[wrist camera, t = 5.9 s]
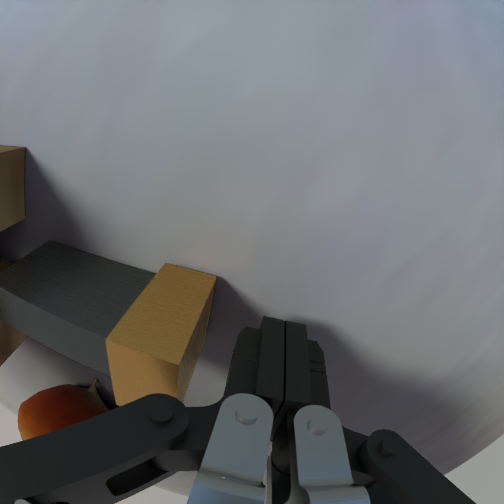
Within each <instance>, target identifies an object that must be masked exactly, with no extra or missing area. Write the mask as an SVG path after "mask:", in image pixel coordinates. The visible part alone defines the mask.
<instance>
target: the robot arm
mask: <svg viewBox="0 0 504 504" xmlns="http://www.w3.org/2000/svg"><path fill="white" fill-rule="evenodd" d="M324 364H325V360H324V353H323V351H322V349H321V347H320V346H319V344H318V343H317V341H313V340H308V339H307V332H306V325H304V324H299V323H295V322H290V321H284V320H280V319H276V318H271V317H267V316H264V317H263V319H262V322H261V325H260V328H259V329H255V328H251V327H247V326H246V327H245V328H244V329H243V330H242V331H241V332H240V333H239V334H238V337H237V341H236V345H235V349H234V353H233V357H232V360H231V364H230V369H229V373H228V378H227V382H226V387H225V391H224V396H223V397H222V399H221V400H219V401H218V402H217V403H215V404H212V405H210V406H205V407H185V405H184V404H183V403H182V402H181V401H180V400H178V399H177V398H175V397H173V396H171V395H168V394H162V393H154V394H149V395H146V396H144V397H142V398H139V399H137V400H135V401H132V402H130V403H127V404H125V405H123V406H120V407H118V408H115V409H113V410H110V411H108V412H105V413H103V414H100V415H97V416H95V417H92V418H90V419H87V420H84V421H81V422H79V423H76V424H73V425H70V426H67V427H65V428H62V429H59V430H56V431H53V432H50V433H47V434H43V435H40V436H37V437H34V438H31V439H27V440H24V441H21V442H17V443H13V444H10V445H6V446H2V447H0V504H114V503H117V502H119V501H121V500H123V499H126V498H128V497H130V496H132V495H134V494H136V493H138V492H140V491H142V490H144V489H146V488H148V487H150V486H152V485H154V484H156V483H158V482H160V481H162V480H164V479H166V478H167V477H169V476H171V475H173V474H175V473H176V472H178V471H198V470H199V471H198V473H197V476H196V479H195V482H194V484H193V487H192V490H191V493H190V496H189V499H188V501H187V504H264V499H265V485H264V484H263V476H264V470H265V465H266V459H267V454H268V448H269V442H270V441H271V442H273V443H272V452H271V453H270V455H269V456H268V459H267V504H476V503H475V502H474V501H472V500H471V499H470V498H469V497H468V496H467V495H465V494H464V493H463V492H462V491H461V490H459V489H458V488H457V487H456V486H455V485H454V484H453V483H452V482H450V481H449V480H448V479H447V478H446V477H445V476H444V475H442V474H441V473H440V472H439V471H438V470H437V469H436V468H435V467H433V466H432V465H431V464H430V463H429V462H428V461H427V460H426V459H425V458H423V457H422V456H421V455H420V454H419V453H418V452H417V451H416V450H415V449H414V448H412V447H411V446H410V445H409V444H408V443H407V442H406V441H405V440H404V439H403V438H402V437H401V436H399V435H398V434H397V433H395V432H393V431H390V430H385V429H382V430H377V431H375V432H373V433H372V434H371V435H370V436H366V435H363V434H360V433H357V432H354V431H351V430H349V429H347V428H345V427H343V426H342V425H341V421H340V419H339V418H338V416H337V415H336V414H335V413H334V412H333V411H331V408H330V400H329V391H328V383H327V375H326V368H325V365H324Z"/></svg>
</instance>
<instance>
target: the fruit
mask: <svg viewBox="0 0 504 504" xmlns="http://www.w3.org/2000/svg"><path fill="white" fill-rule="evenodd" d="M96 382H97V379H96V378H95V380H94V381H93V383H92V385H91V387H90V388H81V387H78V386H74V385H70V384H67V385H60V386H56V387H52V388H49V389H46V390H43V391H40V392H38V393H37V394H35V395H33V396H32V397H30V398H29V399H27V400H26V401H24V402H23V403H22V404H21V405H20V408H19V414H18V428H19V431H20V434H21V437H22V440H23V441H24V440H27V439H31V438H34V437H37V436H40V435H43V434H47V433H50V432H53V431H56V430H59V429H62V428H65V427H67V426H70V425H73V424H76V423H79V422H81V421H84V420H87V419H90V418H92V417H95V416H97V415H100V414H103V413H105V412H108V411H110V410H109V409H108V408H107V407H106V406H105V405H104V403H103V402H102V400H101V398H100V397H99V395H98V393H97V390H96V388H95V385H96Z"/></svg>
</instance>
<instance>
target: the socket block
mask: <svg viewBox="0 0 504 504" xmlns="http://www.w3.org/2000/svg"><path fill="white" fill-rule="evenodd" d="M24 166H25V147H17V146H3V145H0V232H1V231H2V230H4V229H6V228H8V227H10V226H12V225H14V224H16V223H18V222H20V221H22V220H24V219H25V202H24ZM11 265H13V264H12V263H10V262H8V261H6V260H5V261H3V262H1V263H0V273H1V272H2V271H4V270H5V269H7V268H8V267H10V266H11ZM27 337H28V336H27V335H25V334H23V333H22V332H20V331H18V330H17V329H15V328H14V327H12V326H10V325H9V324H7V323H6V322H4V321H2V320H1V319H0V366H1V365H2V364H3V363H4V362H5V361H6V360H7V358H8V357H9V356H10V355H11V354H12V353H13V352H14V351H15V350H16V349H17V348H18V347H19V345H20V344H21V343H22V342H23V341H24V340H25V339H26V338H27Z"/></svg>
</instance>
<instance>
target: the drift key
mask: <svg viewBox="0 0 504 504" xmlns="http://www.w3.org/2000/svg"><path fill="white" fill-rule="evenodd" d="M216 279H217V276H214V275H210V274H206V273H202V272H199V271H195V270H191V269H187V268H183V267H180V266H176V265H172V264H169V263H165V264H164V265H163V267H162V268H161V269H160V270H159V272H158V273H157V274H154V273H151V272H147V271H144V270H140V269H137V268H134V267H130V266H127V265H124V264H120V263H117V262H114V261H111V260H107V259H104V258H101V257H98V256H95V255H91V254H88V253H85V252H82V251H79V250H76V249H73V248H70V247H67V246H64V245H61V244H58V243H55V242H52V241H48V242H47V243H45V244H43V245H42V246H40V247H39V248H37V249H35V250H34V251H32V252H31V253H29V254H28V255H26V256H25V257H23V258H22V259H20V260H19V261H17V262H16V263H14V264H13V265H11V266H10V267H8V268H7V269H5V270H4V271H2V272H1V273H0V319H1V320H2V321H4V322H6V323H7V324H9V325H10V326H12V327H14V328H15V329H17V330H18V331H20V332H22V333H23V334H25V335H27V336H29V337H30V338H32V339H34V340H36V341H37V342H39V343H41V344H43V345H45V346H46V347H48V348H50V349H52V350H54V351H56V352H58V353H60V354H62V355H64V356H66V357H68V358H70V359H72V360H74V361H76V362H78V363H80V364H83V365H85V366H87V367H89V368H91V369H94V370H96V371H98V372H101V373H103V374H105V375H108V376H110V377H111V380H112V386H113V391H114V396H115V401H116V405H119V406H123V405H125V404H127V403H130V402H132V401H135V400H137V399H139V398H142V397H144V396H146V395H149V394H154V393H162V394H168V395H171V396H173V397H175V398H177V399H178V400H180V401H181V402H183V400H184V397H185V394H186V391H187V388H188V385H189V383H190V380H191V377H192V374H193V371H194V368H195V366H196V363H197V360H198V357H199V355H200V352H201V349H202V346H203V343H204V341H205V338H206V333H207V327H208V322H209V316H210V311H211V305H212V300H213V295H214V289H215V284H216Z"/></svg>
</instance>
